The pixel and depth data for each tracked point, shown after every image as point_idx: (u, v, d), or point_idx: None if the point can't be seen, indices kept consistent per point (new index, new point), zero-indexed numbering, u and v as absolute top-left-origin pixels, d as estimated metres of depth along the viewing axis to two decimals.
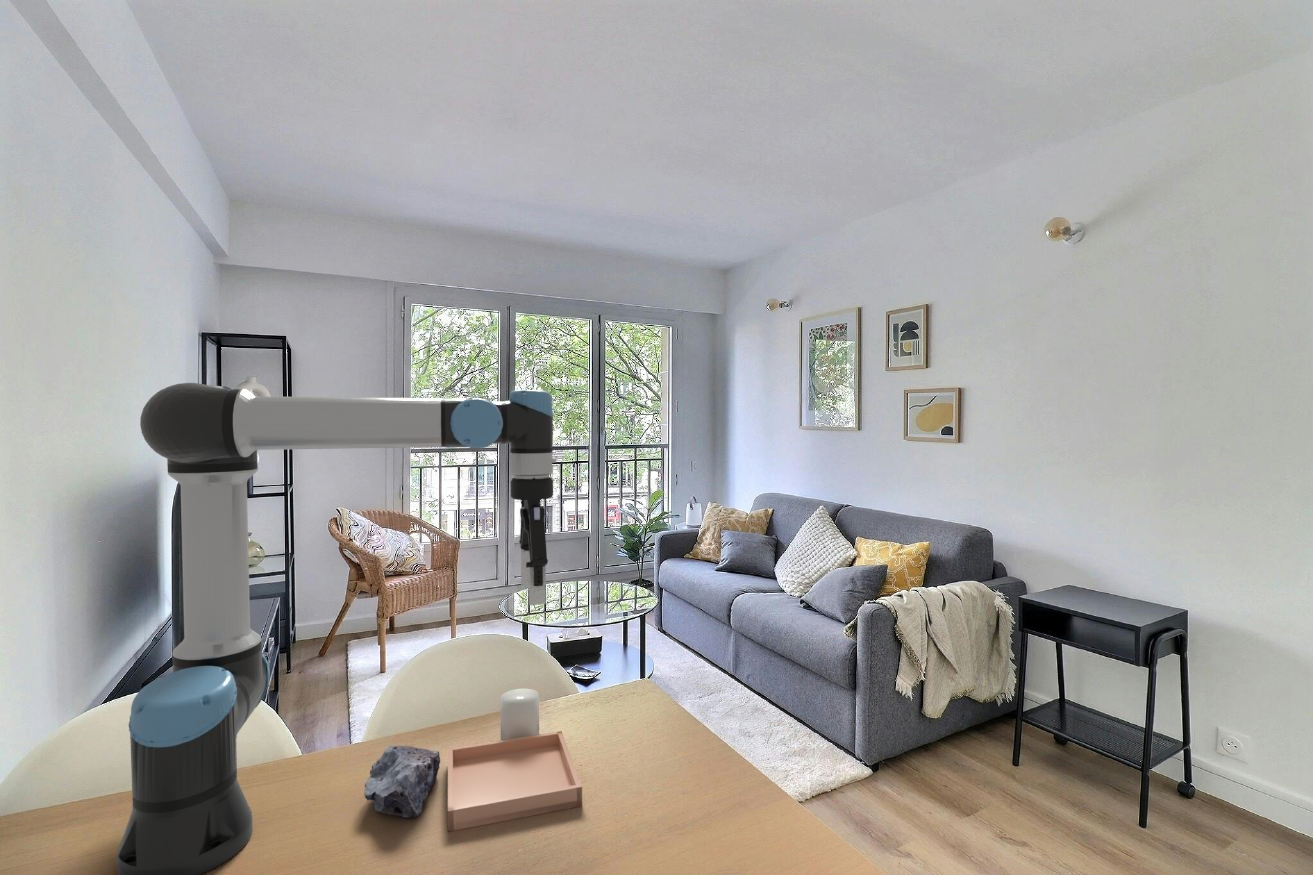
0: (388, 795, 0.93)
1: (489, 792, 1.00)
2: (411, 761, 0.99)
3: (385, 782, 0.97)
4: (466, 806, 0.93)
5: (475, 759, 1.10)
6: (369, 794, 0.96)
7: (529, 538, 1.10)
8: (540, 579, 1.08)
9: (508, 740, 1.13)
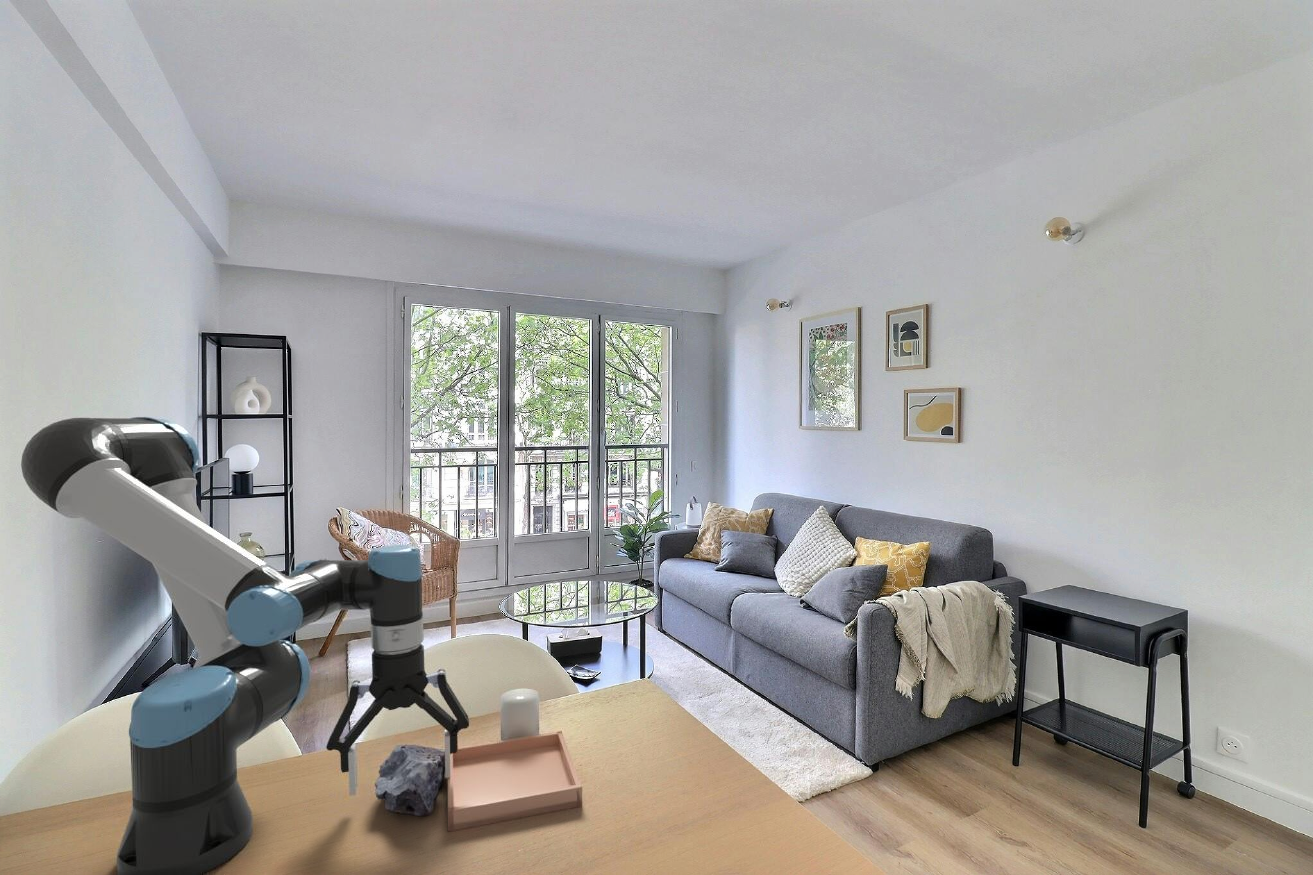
0: (401, 793, 0.94)
1: (489, 792, 1.00)
2: (421, 759, 0.99)
3: (396, 781, 0.97)
4: (466, 806, 0.93)
5: (475, 759, 1.10)
6: (380, 793, 0.96)
7: (363, 714, 0.99)
8: (341, 764, 0.97)
9: (508, 740, 1.13)
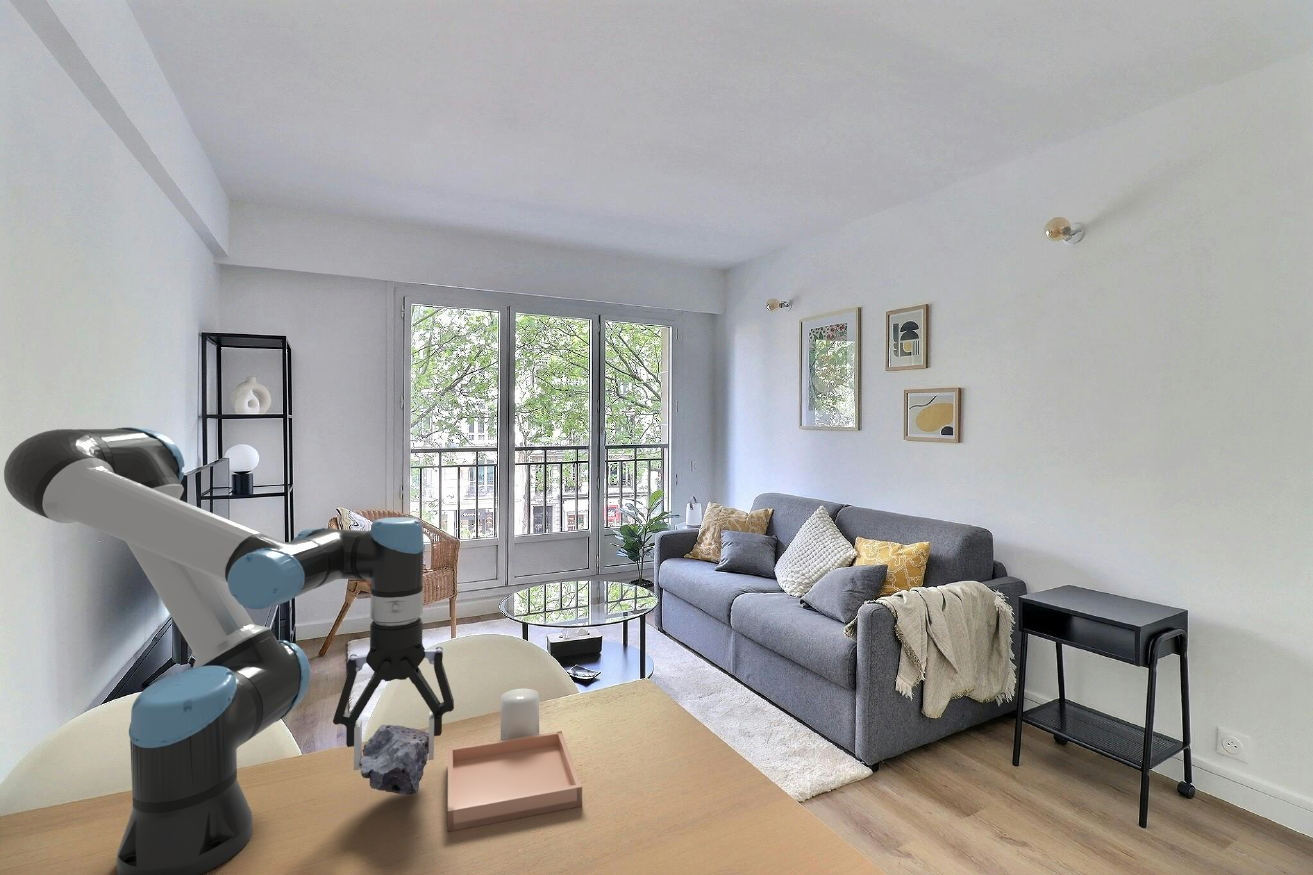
0: (389, 772, 0.93)
1: (489, 792, 1.00)
2: (408, 739, 0.99)
3: (382, 760, 0.97)
4: (466, 806, 0.93)
5: (475, 759, 1.10)
6: (366, 772, 0.95)
7: None
8: None
9: (508, 740, 1.13)
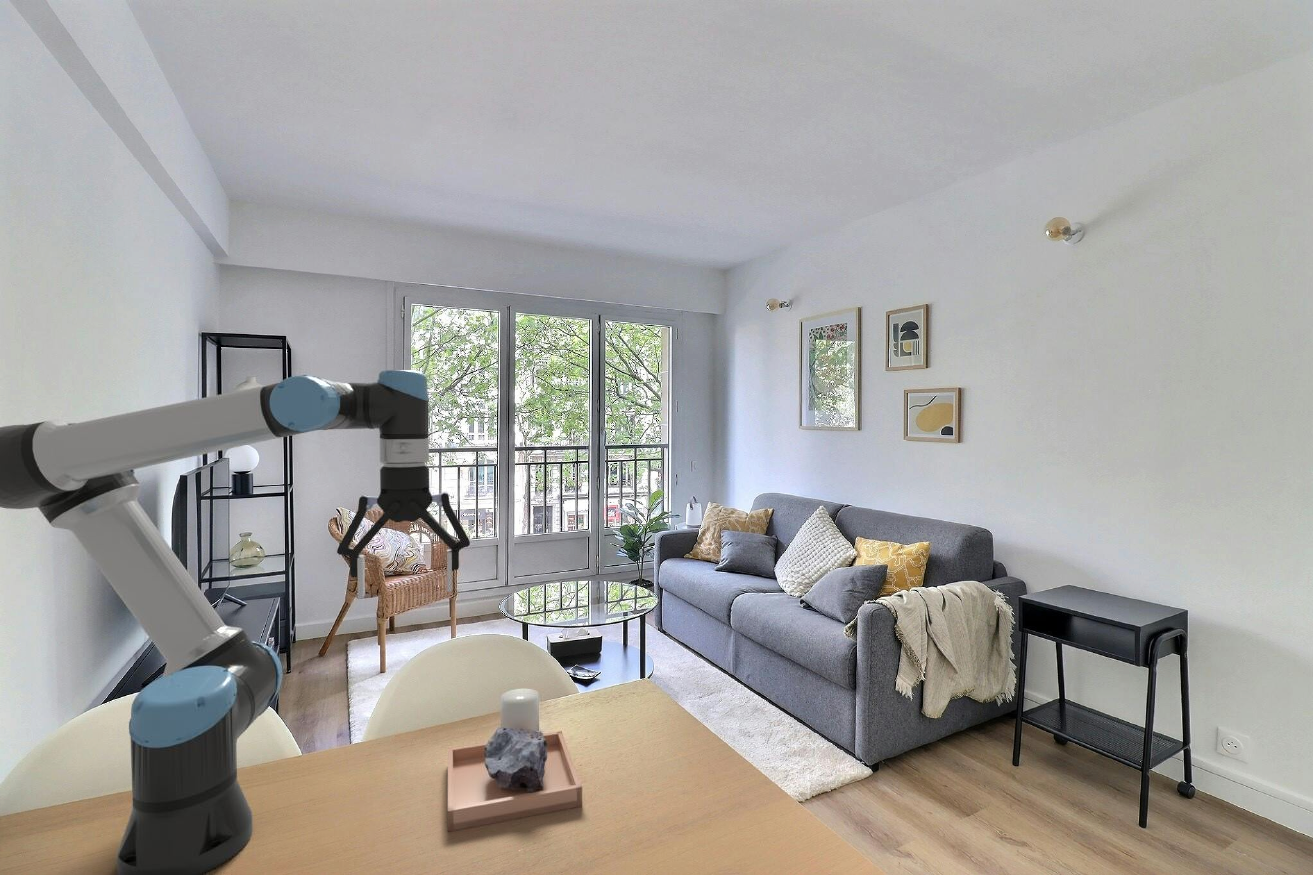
0: (518, 771, 0.98)
1: (489, 792, 1.00)
2: (528, 739, 1.03)
3: (506, 760, 1.01)
4: (466, 806, 0.93)
5: (475, 759, 1.10)
6: (494, 772, 0.99)
7: (371, 527, 1.05)
8: (350, 569, 1.03)
9: None
